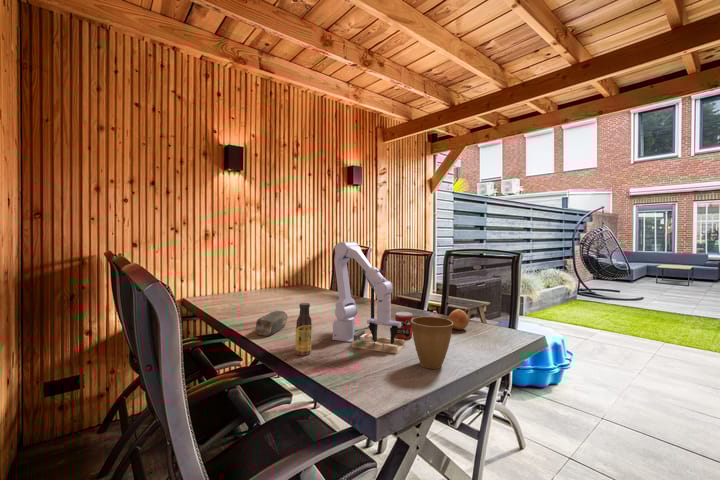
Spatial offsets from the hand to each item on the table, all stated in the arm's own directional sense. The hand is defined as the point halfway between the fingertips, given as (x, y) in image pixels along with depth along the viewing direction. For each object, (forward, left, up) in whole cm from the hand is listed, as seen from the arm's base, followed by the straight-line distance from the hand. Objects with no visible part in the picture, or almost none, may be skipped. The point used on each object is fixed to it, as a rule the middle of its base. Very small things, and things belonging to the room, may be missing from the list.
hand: (383, 342), depth 141 cm
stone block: (-59, 0, -2) cm, 59 cm away
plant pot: (+23, -11, -2) cm, 25 cm away
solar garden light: (-16, +28, -2) cm, 33 cm away
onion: (+25, +41, -2) cm, 48 cm away
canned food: (+4, +17, -2) cm, 18 cm away
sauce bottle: (-26, -20, -2) cm, 33 cm away
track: (-2, 0, -2) cm, 3 cm away
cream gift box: (-7, 0, -1) cm, 7 cm away
